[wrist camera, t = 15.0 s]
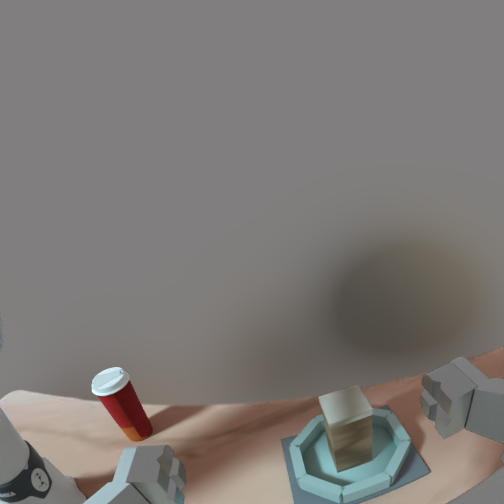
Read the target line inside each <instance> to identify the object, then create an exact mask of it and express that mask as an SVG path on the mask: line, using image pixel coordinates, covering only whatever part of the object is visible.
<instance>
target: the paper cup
mask: <svg viewBox="0 0 504 504" xmlns="http://www.w3.org/2000/svg"><path fill="white" fill-rule="evenodd" d="M129 378H130V377H129V375H128V373H127V372H125V371H124V370H123V369H122V368H119V367H114V368H109V369H106V370H104V371H102V372H100V373H99V374H97V376H96V377H95V378H94V379H93V381H92V392H93V393H94V394H96V395H97V396H98V397H99V399H100V400H101V402H102V403H103V405H104V406H105V408H106V409H107V410H108V412H109V413H110V415H111V416H112V417H113V419H114V420H115V421H116V423H117V424H118V425H119V427H120V428H121V429H122V430H123V432H124V433H125V434H126V435H127V437H128V438H129V439H130V440H132V441H141V440H144V439H146V438H147V437H149V436H150V434H151V433H152V426H151V423H150V421H149V419H148V417H147V415H146V413H145V411H144V409H143V407H142V405H141V403H140V401H139V399H138V397H137V395H136V393H135V390H134V388H133V386H132V384H131V382H130V380H129Z"/></svg>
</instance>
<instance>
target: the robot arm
mask: <svg viewBox="0 0 504 504" xmlns="http://www.w3.org/2000/svg"><path fill="white" fill-rule="evenodd" d="M3 343H4V325H3V320H2V316H1V313H0V353H1V351H2V348H3ZM422 386H423V387H424V390H423V392H422V393H421V400H420V402H421V406H422V410H423V412H424V414H425V415H426V417H427V418H428V419H430V420H434V421H435V429H436V430H437V431H438V432H439V434H440V435H441V436H442V438H443V439H446V438H448V437H449V436H451V435H453V434H455V433H457V432H459V431H460V430H462V429H464V428H465V429H466V430H468V431H471V432H473V433H476V434H479V435H481V436H484V437H487V438H489V439H492V440H495V441H498V442H500V443H503V444H504V379H501V378H495V377H493V378H491V379H489V378H488V377H487V376H486V375H485V374H483V373H482V372H481V371H480V370H479V369H478V368H476V367H475V366H474V365H473V364H472V363H471V362H469V361H468V360H467V359H466V358H465V357H462V356H459V357H458V358H456V359H454V360H452V361H450V362H449V363H446V364H444V365H443V366H441V367H439V368H437V369H435V370H433V371H431V372H429V373H427V374H424V375H423V378H422ZM173 455H174V451H173V450H172V448H171V447H170V446H169V445H159V446H139V447H125V448H124V449H123V451H122V454H121V457H120V460H119V463H118V466H117V469H116V472H115V475H114V478H113V481H112V482H108V483H107V484H106V485H105V486H103V487H102V488H101V489H100V490H99V491H97V492H96V493H95V494H94V495H93V496H91V497H90V498H89V499H88V500H87V499H86V497H85V496H84V494H83V493H82V492H81V491H80V490H79V489H78V488H77V484H76V481H75V480H74V479H73V478H72V477H71V476H64V475H63V474H62V473H61V472H60V471H59V470H58V469H57V468H56V467H55V466H54V465H53V464H52V463H51V462H50V461H49V460H48V459H46V458H45V457H43V458H42V457H40V455H39V454H38V453H37V451H36V450H35V449H34V448H33V447H32V446H31V445H30V444H29V443H28V442H27V441H25V440H23V438H22V437H21V436H20V434H19V433H18V432H17V430H16V429H15V428H14V426H13V425H12V423H11V422H10V421H9V419H8V418H7V416H6V415H5V413H4V412H3V410H2V409H1V408H0V504H184V496H185V495H184V494H183V493H182V492H181V490H182V488H183V487H184V486H185V485H186V474H185V469H184V467H183V464H182V463H181V461H180V460H178V459H176V458H175V457H173ZM501 461H502V462H503V463H504V453H503V455H502V458H501ZM446 504H504V466H503V467H501V468H500V469H499V470H497V471H496V472H495V473H493V474H492V475H490V476H489V477H487V478H486V479H485V480H483V481H482V482H480V483H479V484H477V485H476V486H474V487H472V488H471V489H469V490H468V491H466V492H465V493H463V494H461V495H460V496H458V497H456V498H455V499H453V500H451V501H449V502H448V503H446Z"/></svg>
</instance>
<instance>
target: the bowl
mask: <svg viewBox="0 0 504 504" xmlns="http://www.w3.org/2000/svg"><path fill="white" fill-rule="evenodd" d="M315 417H316V419H315V418H312V419H311V421H310V422H309V423H308V424H307V425H306V426H305V428H304V429H303V430H302V431H301V432H300V434H299V435H298V436H297V437H296V438H295V439H294V440H293V442H292V443H291V444H290V447H289V449H290V454H291V458H292V463H293V467H294V472H295V476H296V480H297V483H298V486H300V488H301V489H303V490H305V491H308V492H310V493H313V494H315V495H317V496H319V497H321V498H324V499H328V500H331V501H334V502H337V503H341V501H343V502H344V503H347V502H350V501H353V500H358V499H362V498H365V497H368V496H370V495H372V494H374V493H376V492H378V491H380V490H383V489H385V488H388V487H389V486H390V484H393V482H394V480H395V478H396V476H397V475H398V473H399V471H400V469H401V467H402V465H403V463H404V461H405V459H406V457H407V455H408V452H409V449H410V442H411V441H410V439H411V438H410V437H409V435H408V434H407V432H406V431H405V429H404V428H403V426H402V424H401V423H400V421H399V420H398V418H397V417H396V415H395V414H394V412H393V413H391V411H389V410H383V409H378V408H373V415H372V461H371V462H368V463H365V464H362V465H360V466H357V467H354V468H351V469H348V470H345V471H342V472H339V473H337V470H336V468H335V465H334V462H333V459H332V456H331V454H330V451H329V448H328V442H327V436H326V430H325V425H324V419H323V414H321V415H318V416H315Z"/></svg>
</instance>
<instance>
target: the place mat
mask: <svg viewBox="0 0 504 504" xmlns="http://www.w3.org/2000/svg"><path fill="white" fill-rule="evenodd" d="M379 409H383V410H389V411H391V410H390V409H389V407H388V406H387V405H386V406H384V407H381V408H379ZM391 413H392V412H391ZM297 436H298V435H296V436H292V437H288V438H284V439H281V440H282V445H283V450H284V455H285V460H286V465H287V470H288V475H289V480H290V485H291V490H292V494H293V499H294V504H359V503H361V502H364V501H367V500H370V499H372V498H375V497H378V496H380V495H383V494H385V493H388V492H390V491H393V490H395V489H397V488H399V487H402V486H404V485H406V484H408V483H411V482H413V481H415V480H417V479H419V478H421V477H423V476H425V475H427V474H429V473H430V471H429V470H428V468H427V467H426V465H425V463H424V462H423V460H422V459H421V457H420V455H419V454H418V452H417V451H416V449H415V448H414V446H413V444H412V443H411V442H410V449H409V452H408V455H407V457H406V459H405V461H404V463H403V465H402V467H401V469H400V471H399V473H398V475H397V476H396V478H395V480H394V482H393V484H390V486H389V487H388V488H385V489H383V490H380V491H378V492H376V493H374V494H372V495H370V496H368V497H365V498H362V499H358V500H353V501H350V502H347V503H344V502H343V501H341V503H337V502H334V501H331V500H328V499H324V498H321V497H319V496H317V495H315V494H313V493H310V492H308V491H305V490H303V489H301V488H300V486H298V483H297V480H296V476H295V472H294V467H293V463H292V458H291V454H290V449H289V447H290V444H291V443H292V442H293V440H294V439H295V438H296V437H297Z"/></svg>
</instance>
